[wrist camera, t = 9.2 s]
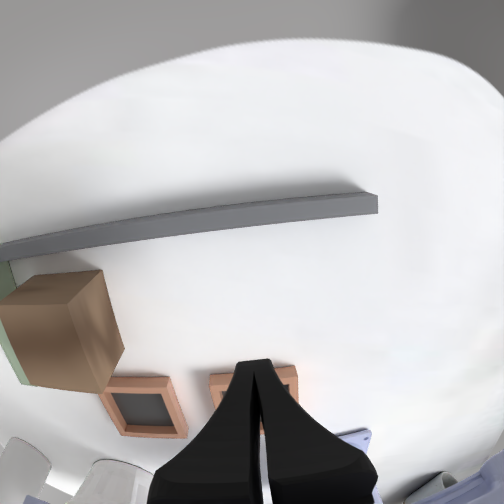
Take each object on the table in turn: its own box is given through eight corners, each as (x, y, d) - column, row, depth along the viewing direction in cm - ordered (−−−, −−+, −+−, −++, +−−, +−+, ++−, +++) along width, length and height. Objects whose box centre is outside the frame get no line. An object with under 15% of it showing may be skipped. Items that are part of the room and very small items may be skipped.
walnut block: (125, 347, 20) (102, 394, 15) (59, 346, 20) (30, 384, 15) (103, 269, 18) (66, 304, 13) (35, 274, 18) (-5, 304, 13)
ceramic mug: (393, 499, 31) (408, 535, 23) (435, 470, 29) (454, 506, 22) (424, 497, 33) (438, 527, 26) (460, 470, 31) (477, 501, 24)
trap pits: (296, 419, 22) (298, 429, 21) (124, 426, 22) (121, 435, 21) (295, 365, 20) (297, 376, 19) (99, 376, 20) (93, 386, 19)
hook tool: (362, 348, 20) (374, 369, 18) (34, 367, 20) (21, 384, 18) (366, 192, 17) (385, 198, 15) (-12, 246, 17) (-32, 256, 14)
